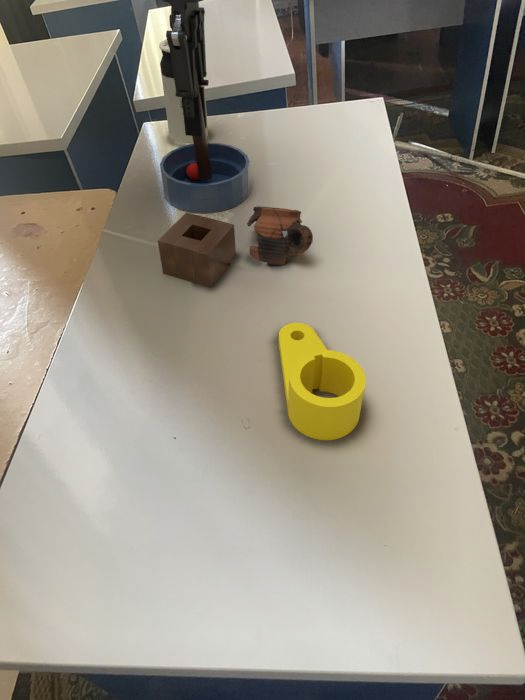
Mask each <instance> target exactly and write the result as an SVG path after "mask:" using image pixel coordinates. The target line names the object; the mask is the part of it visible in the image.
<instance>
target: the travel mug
mask: <svg viewBox="0 0 525 700" xmlns="http://www.w3.org/2000/svg"><path fill="white" fill-rule="evenodd" d="M158 47H159V49H160V51H161V55H162V56H161V60H160V62H159V67H160V73H161V82H162V90H163V97H164V105H165V113H166V121H167V129H168V136H169V139H170V140H171V141H173V142H175V143H177V144H185V145H189V144H193V139H192V136H188V135H186V134H185V124H184V115H183V106H182V97H177V96H176V95H175V93H176V88H175V81H174V75H173V68H172V62H171V55H170V48H169V45H168V42H167V38H166V39H163V40H162V41H160V42H159V44H158ZM202 87H204V97H205V110H206V123H207V127H206V128H205V130H206V137H207V138H208V136H209V125H208V112H207V111H208V110H207V101H206V99H207V98H206V88H205V87H206V86H202Z"/></svg>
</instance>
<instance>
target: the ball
mask: <svg viewBox="0 0 525 700" xmlns="http://www.w3.org/2000/svg"><path fill="white" fill-rule="evenodd" d="M186 173H187V176H188V177H189V178H190V179H191V180H199V174H198V168H197V163H192V164H190V165H189V166H188V167H187V170H186Z"/></svg>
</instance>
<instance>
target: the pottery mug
mask: <svg viewBox="0 0 525 700" xmlns="http://www.w3.org/2000/svg"><path fill="white" fill-rule="evenodd" d="M252 210H253V214H252V215H251V216H250V217H249V218H248V221H247V222H246V224H247V226H248V227H251V226H252V225H253V230H254V232H255V233H256V234H257V235H256V237H257V238H256V239H257V245H250V246H249V255H250V256H251V257H252V258H253V259H255V260H257V261H259V262H261V263H266V264H267V265H274V266H276V265H278V266H283V265H286V261H287V258H288V255H289V256H290V257H291V258H296V257H297V256H298V255H299V254H304V253H306V252H307V251H308V250H309V248H310V247H311V245H312V243H313V241H314V240H313V238H314V236H313V235H314V234H313V231H312V230H311V228H310V227H309V226H307V225H304V224H302V223H303V221H302V219H301V214H302V211H301V210H298V209H290V208H281V207H270V206H260V205H259V206H258V205H257V206H253V209H252ZM283 232H287V235H286V236H285V235H284V233H283Z"/></svg>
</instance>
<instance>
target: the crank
mask: <svg viewBox="0 0 525 700" xmlns="http://www.w3.org/2000/svg"><path fill="white" fill-rule="evenodd" d="M278 349H279V356H280V365H281V371H282V377H283V387H284V394H285V399H286V400H285V401H286V407H287V415H288V418H289V421H290V423H291V424H292V426H293V427H294V428H295V429H296V430H297V431H298V432H300V433H301V434H302V435H304V436H306V437H308V438H311V439H313V440H320V441H333V440H334V441H335V440H337V439H341V438H343V437H345V436H347V435H349V434H351V432H352V431H353V430H354V429H355V428H357V427H356V426H357V425H358V423H359V421H360V417H361V416H360V415H361V409H362V405H363V399H364V395H365V394H364V393H365V388H366V385H367V383H366V382H367V379H366V374H365V371H364V368H363V367H362V366H361V364H360V363H359V362H357V360H355V359H354V358H353V357H352V356H350V355H348V354H346V353H343V352H340V351H337V350H331V349H328V348H327V347H326V345H325V344H324V342H323V341H322V339H321V338H320V337H319V335H318V334H317V333H316V331H315V329H314V328H313V327H311V326H310V325H308V324H306V323H303V322H291V323H288V324H285V325H284V326H282V328H281V329H280V330H279V332H278ZM313 390H318V391H319V392H325V393H331V394H334V395H336V396H337V397H323V396H320V395H319V396H318V395H315V394H314V393H313Z"/></svg>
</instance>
